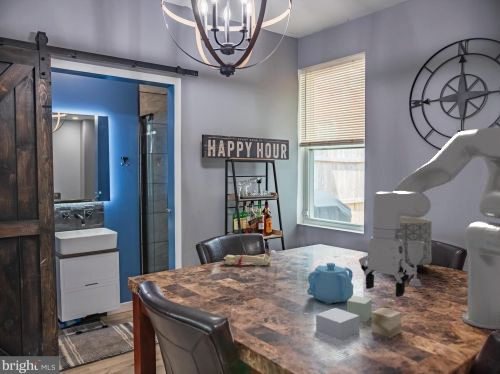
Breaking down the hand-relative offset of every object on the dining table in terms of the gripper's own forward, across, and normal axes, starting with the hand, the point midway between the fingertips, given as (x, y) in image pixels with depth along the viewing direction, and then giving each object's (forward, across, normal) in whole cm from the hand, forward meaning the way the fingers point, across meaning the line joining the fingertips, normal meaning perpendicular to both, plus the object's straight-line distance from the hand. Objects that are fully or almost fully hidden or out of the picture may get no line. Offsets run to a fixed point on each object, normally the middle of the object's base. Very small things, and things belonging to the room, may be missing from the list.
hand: (384, 291), depth 117 cm
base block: (+13, +10, +9) cm, 18 cm away
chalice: (+11, +18, -55) cm, 59 cm away
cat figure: (+13, +94, -25) cm, 98 cm away
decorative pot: (+12, +30, -13) cm, 34 cm away
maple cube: (+12, 0, -1) cm, 12 cm away
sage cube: (+12, +12, -5) cm, 17 cm away
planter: (+11, +38, -80) cm, 89 cm away
